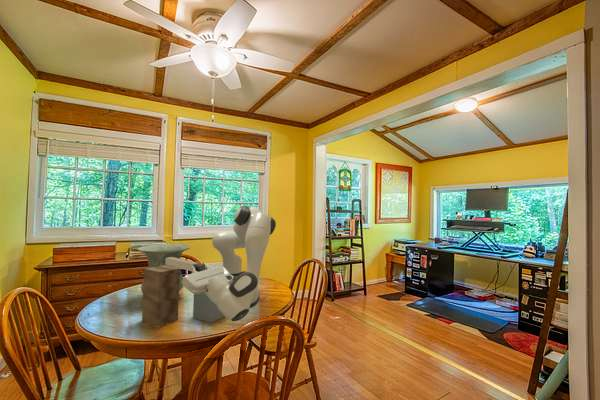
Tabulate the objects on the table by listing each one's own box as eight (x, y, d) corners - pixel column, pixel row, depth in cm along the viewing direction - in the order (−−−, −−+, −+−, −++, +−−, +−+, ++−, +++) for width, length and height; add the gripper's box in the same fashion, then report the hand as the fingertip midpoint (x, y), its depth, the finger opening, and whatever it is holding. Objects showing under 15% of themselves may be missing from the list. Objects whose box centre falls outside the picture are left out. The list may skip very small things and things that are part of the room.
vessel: (148, 313, 135) (151, 252, 136) (126, 301, 151) (128, 246, 152) (198, 299, 156) (199, 247, 157) (174, 290, 172) (175, 242, 173)
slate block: (209, 310, 140) (210, 271, 141) (226, 315, 134) (227, 274, 135) (192, 316, 132) (194, 275, 132) (210, 322, 126) (211, 279, 126)
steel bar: (171, 263, 125) (171, 256, 125) (205, 271, 115) (205, 264, 115) (165, 264, 123) (165, 257, 123) (199, 272, 112) (199, 265, 112)
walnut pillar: (162, 314, 134) (164, 265, 135) (177, 319, 128) (179, 268, 129) (141, 321, 125) (144, 268, 126) (157, 327, 119) (159, 272, 120)
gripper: (191, 302, 101) (171, 277, 107) (230, 287, 119) (211, 266, 125) (198, 289, 100) (177, 265, 105) (236, 275, 117) (217, 256, 123)
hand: (196, 265), depth 115 cm, fingers closed on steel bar, 3 cm apart
